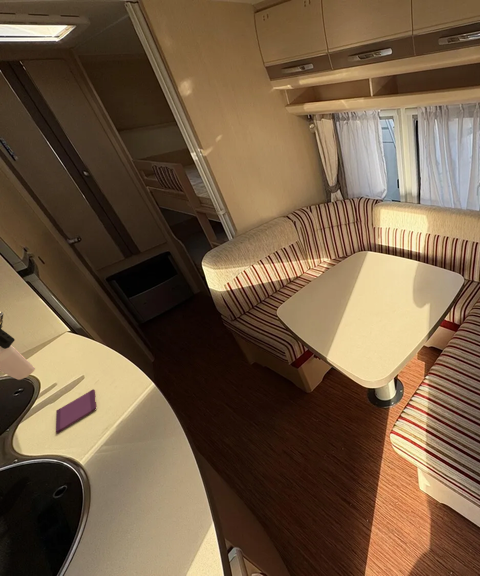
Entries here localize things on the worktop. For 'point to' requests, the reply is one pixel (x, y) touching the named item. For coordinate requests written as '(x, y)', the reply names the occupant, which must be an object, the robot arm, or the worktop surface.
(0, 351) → the smoothie
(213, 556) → the worktop surface
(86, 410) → the towel mat
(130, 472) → the worktop surface
